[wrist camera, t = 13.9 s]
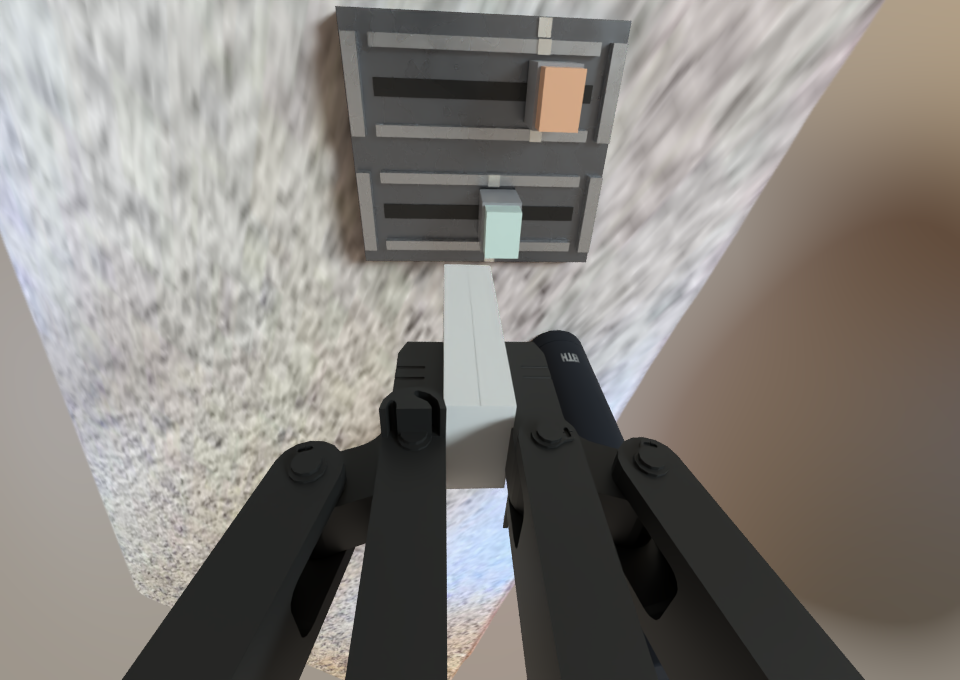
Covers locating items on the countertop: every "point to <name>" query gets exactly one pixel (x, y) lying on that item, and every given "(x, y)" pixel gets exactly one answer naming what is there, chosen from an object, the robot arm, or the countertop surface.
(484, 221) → the knob
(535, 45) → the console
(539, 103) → the knob
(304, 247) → the countertop surface
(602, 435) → the black water bottle
